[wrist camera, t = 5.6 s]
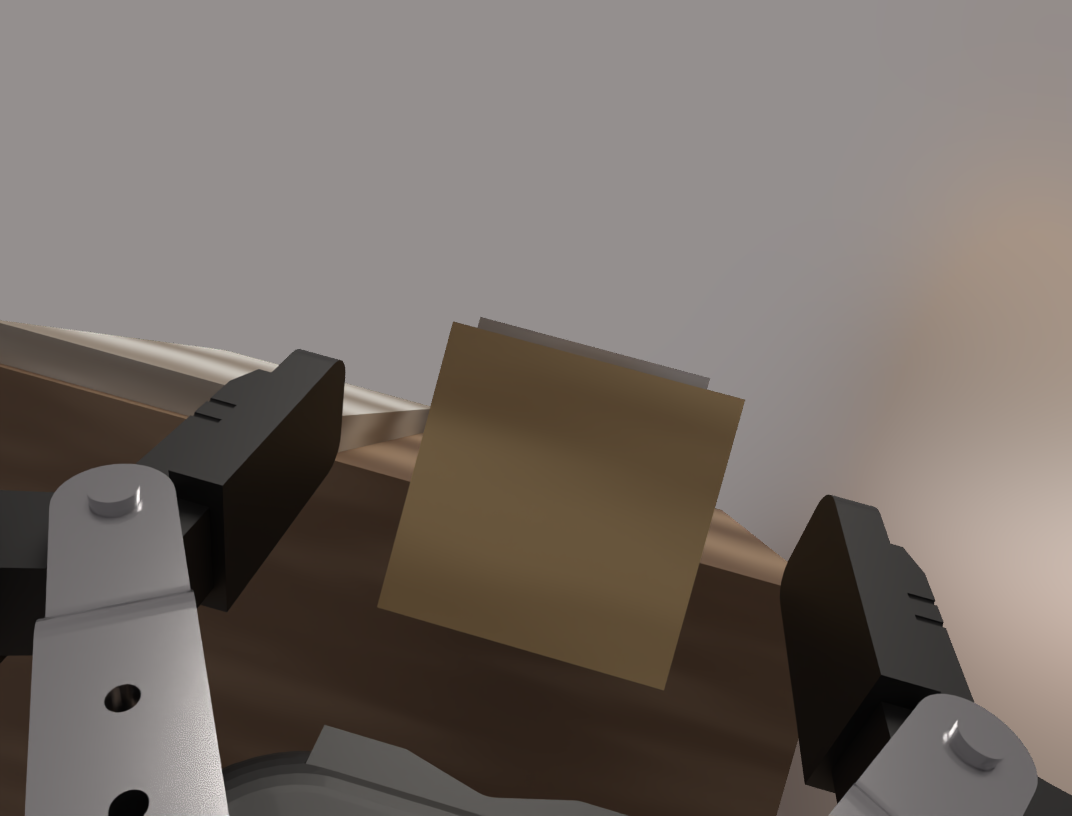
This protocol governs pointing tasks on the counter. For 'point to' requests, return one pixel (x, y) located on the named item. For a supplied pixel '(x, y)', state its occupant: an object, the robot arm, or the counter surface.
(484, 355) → the wood block with plate
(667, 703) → the zigzag wood block
